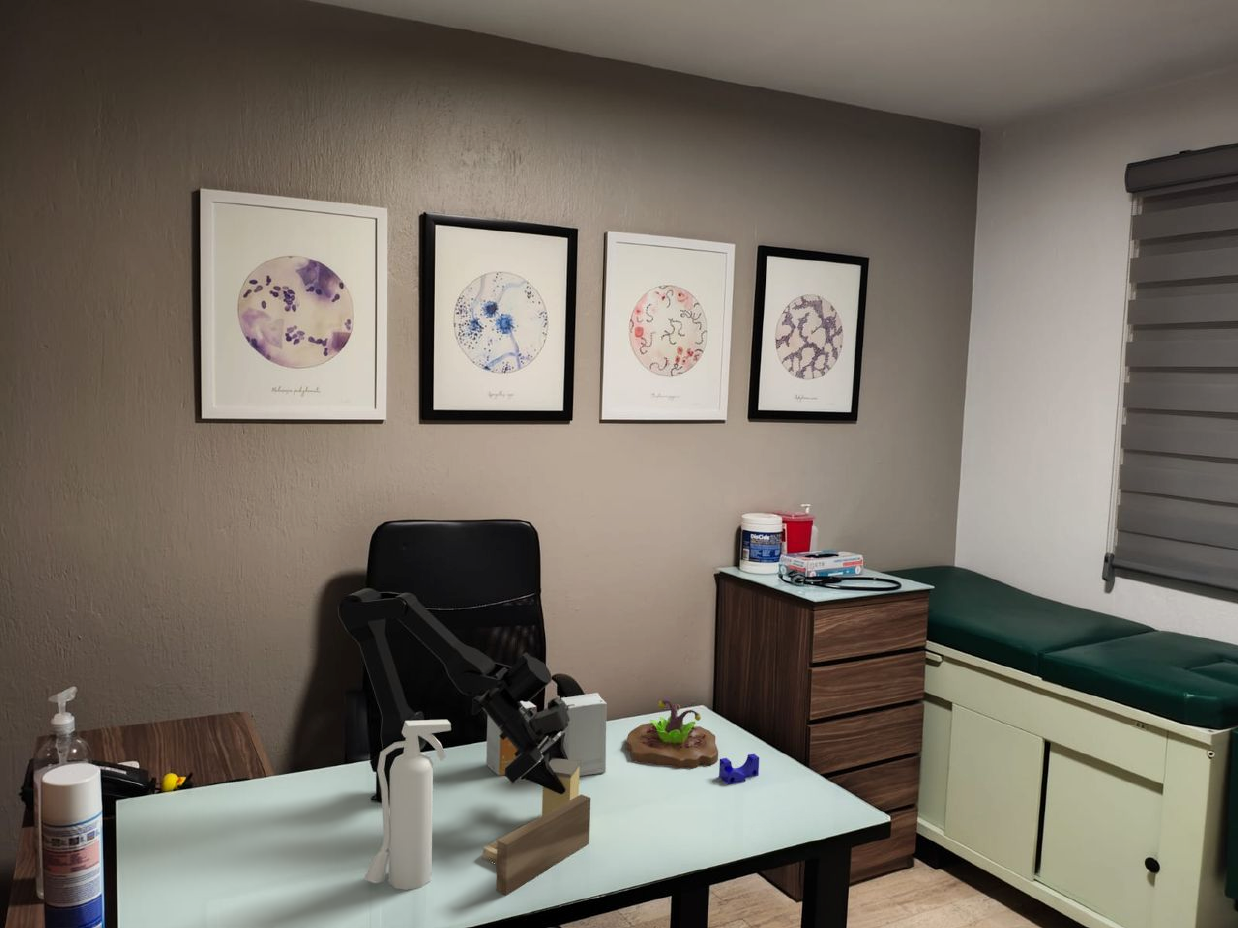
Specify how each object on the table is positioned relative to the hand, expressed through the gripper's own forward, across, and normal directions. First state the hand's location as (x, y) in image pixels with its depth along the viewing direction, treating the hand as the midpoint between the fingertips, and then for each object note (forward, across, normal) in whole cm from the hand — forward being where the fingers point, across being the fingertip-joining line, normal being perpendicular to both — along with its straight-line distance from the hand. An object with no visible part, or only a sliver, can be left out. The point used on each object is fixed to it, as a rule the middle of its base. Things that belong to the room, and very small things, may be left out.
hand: (568, 785), depth 154 cm
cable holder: (+25, +28, -14) cm, 40 cm away
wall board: (+2, -13, +7) cm, 15 cm away
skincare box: (+2, +21, +8) cm, 23 cm away
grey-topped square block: (+4, 0, +6) cm, 7 cm away
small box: (-8, +18, +18) cm, 27 cm away
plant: (+14, +38, -3) cm, 40 cm away
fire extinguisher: (-8, -24, +18) cm, 32 cm away
